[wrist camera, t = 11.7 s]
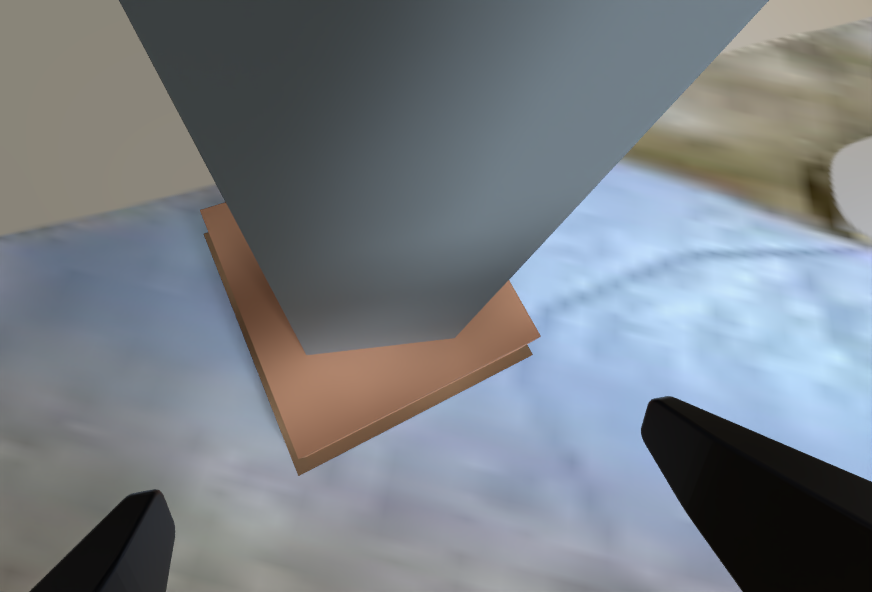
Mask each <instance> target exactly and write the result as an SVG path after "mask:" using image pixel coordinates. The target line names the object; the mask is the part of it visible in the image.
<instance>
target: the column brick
mask: <svg viewBox="0 0 872 592" xmlns="http://www.w3.org/2000/svg"><path fill="white" fill-rule="evenodd" d="M119 1H120V3H121V5H122V7H123V9H124V10H125V12H126V14H127V16H128V18H129V20H130V22H131V24H132V26H133V28H134V29H135V31H136V33H137V35H138V37H139V39H140V41H141V42H142V44H143V47H144V48H145V50H146V52H147V54H148V56H149V58H150V60H151V62H152V64H153V66H154V67H155V69H156V71H157V73H158V75H159V77H160V79H161V81H162V83H163V84H164V86H165V88H166V90H167V92H168V94H169V96H170V98H171V100H172V101H173V103H174V105H175V107H176V109H177V111H178V112H179V115H180V117H181V118H182V120H183V122H184V124H185V126H186V128H187V129H188V132H189V133H190V135H191V137H192V139H193V141H194V143H195V145H196V147H197V149H198V151H199V152H200V155H201V156H202V158H203V160H204V162H205V164H206V166H207V168H208V169H209V172H210V173H211V175H212V177H213V179H214V181H215V183H216V185H217V187H218V189H219V191H220V192H221V194H222V196H223V198H224V200H225V202H226V204H227V206H228V208H229V209H230V211H231V213H232V215H233V217H234V219H235V221H236V223H237V225H238V226H239V228H240V230H241V232H242V234H243V236H244V238H245V240H246V242H247V244H248V245H249V247H250V249H251V251H252V253H253V255H254V257H255V259H256V261H257V262H258V264H259V266H260V268H261V270H262V272H263V274H264V276H265V278H266V280H267V281H268V283H269V285H270V287H271V289H272V291H273V293H274V295H275V297H276V298H277V300H278V302H279V304H280V306H281V308H282V310H283V312H284V314H285V315H286V317H287V319H288V321H289V323H290V325H291V327H292V329H293V331H294V333H295V334H296V336H297V338H298V340H299V342H300V344H301V346H302V348H303V350H304V351H305V353H306V355H313V354H322V353H331V352H339V351H348V350H357V349H365V348H374V347H383V346H391V345H400V344H409V343H417V342H426V341H434V340H443V339H452V338H455V337H456V336H457V335H458V334H459V333H460V332H461V331H462V330H463V329H464V328H465V326H466V325H467V324H468V323H469V322H470V321H471V320H472V319H473V318H474V317H475V316H476V315H477V314H478V312H479V311H480V310H481V309H482V308H483V307H484V306H485V305H486V304H487V303H488V302H489V301H490V300H491V299H492V297H493V296H494V295H495V294H496V293H497V292H498V291H499V290H500V289H501V288H502V287H503V286H504V285H505V283H506V282H507V281H508V280H509V279H510V278H511V277H512V276H513V275H514V274H515V273H516V272H517V271H518V270H519V268H520V267H521V266H522V265H523V264H524V263H525V262H526V261H527V260H528V259H529V258H530V257H531V256H532V254H533V253H534V252H535V251H536V250H537V249H538V248H539V247H540V246H541V245H542V244H543V243H544V242H545V241H546V239H547V238H548V237H549V236H550V235H551V234H552V233H553V232H554V231H555V230H556V229H557V228H558V227H559V225H560V224H561V223H562V222H563V221H564V220H565V219H566V218H567V217H568V216H569V215H570V214H571V213H572V212H573V210H574V209H575V208H576V207H577V206H578V205H579V204H580V203H581V202H582V201H583V200H584V199H585V198H586V196H587V195H588V194H589V193H590V192H591V191H592V190H593V189H594V188H595V187H596V186H597V185H598V184H599V183H600V181H601V180H602V179H603V178H604V177H605V176H606V175H607V174H608V173H609V172H610V171H611V170H612V169H613V167H614V166H615V165H616V164H617V163H618V162H619V161H620V160H621V159H622V158H623V157H624V156H625V155H626V154H627V152H628V151H629V150H630V149H631V148H632V147H633V146H634V145H635V144H636V143H637V142H638V141H639V140H640V138H641V137H642V136H643V135H644V134H645V133H646V132H647V131H648V130H649V129H650V128H651V127H652V126H653V124H654V123H655V122H656V121H657V120H658V119H659V118H660V117H661V116H662V115H663V114H664V113H665V112H666V111H667V109H668V108H669V107H670V106H671V105H672V104H673V103H674V102H675V101H676V100H677V99H678V98H679V97H680V95H681V94H682V93H683V92H684V91H685V90H686V89H687V88H688V87H689V86H690V85H691V84H692V83H693V82H694V80H695V79H696V78H697V77H698V76H699V75H700V74H701V73H702V72H703V71H704V70H705V69H706V68H707V66H708V65H709V64H710V63H711V62H712V61H713V60H714V59H715V58H716V57H717V56H718V55H719V54H720V53H721V51H722V50H723V49H724V48H725V47H726V46H727V45H728V44H729V43H730V42H731V41H732V39H734V37H735V36H736V35H737V34H738V33H739V32H740V31H741V30H742V29H743V28H744V27H745V26H746V24H747V23H748V22H749V21H750V20H751V19H752V18H753V17H754V16H755V15H756V14H757V13H758V11H760V10H761V8H762V7H763V6H764V5H765V4H766V3H767V2H768V1H769V0H119Z"/></svg>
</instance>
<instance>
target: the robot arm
mask: <svg viewBox="0 0 872 592" xmlns="http://www.w3.org/2000/svg"><path fill="white" fill-rule="evenodd" d="M641 435H642V439H643V441H644V443H645V445H646V446H647V448H648V450H649V451H650V453H651V455H652V456H653V458H654V460H655V462H656V463H657V465H658V467H659V468H660V470H661V472H662V473H663V475H664V477H665V478H666V480H667V482H668V483H669V485H670V487H671V488H672V490H673V492H674V494H675V495H676V497H677V499H678V500H679V502H680V503H681V505H682V507H683V508H684V510H685V511H686V513H687V514H688V516H689V517H690V519H691V520H692V522H693V523H694V524H695V526H696V527H697V529H698V530H699V531H700V533H701V534H702V536H703V537H704V538H705V540H706V541H707V543H708V544H709V545H710V547H711V548H712V550H713V551H714V552H715V554H716V555H717V557H718V558H719V559H720V561H721V562H722V564H723V565H724V566H725V568H726V569H727V571H728V572H729V573H730V575H731V576H732V578H733V579H734V580H735V582H736V583H737V585H738V586H739V587H740V589H741V590H742V592H872V482H871V481H869V480H866V479H864V478H862V477H859V476H857V475H855V474H852V473H850V472H847V471H845V470H843V469H840V468H838V467H836V466H833V465H831V464H829V463H826V462H824V461H822V460H819V459H817V458H815V457H812V456H810V455H808V454H805V453H803V452H801V451H798V450H796V449H794V448H791V447H789V446H787V445H784V444H782V443H780V442H777V441H775V440H773V439H770V438H768V437H766V436H763V435H761V434H759V433H756V432H754V431H752V430H749V429H747V428H745V427H742V426H740V425H738V424H735V423H733V422H731V421H728V420H726V419H724V418H721V417H719V416H717V415H714V414H712V413H710V412H707V411H705V410H703V409H700V408H698V407H696V406H693V405H691V404H689V403H686V402H684V401H681V400H679V399H677V398H674V397H671V396H665V397H660V398H654V399H652V400H651V401H650V402H649V403H648V406H647V409H646V413H645V416H644V420H643V423H642V427H641ZM174 540H175V524H174V521H173V518H172V516H171V513H170V511H169V508H168V506H167V503H166V500H165V498H164V495H163V494H162V492H161V491H160V490H155V489H154V490H148V491H143V492H137V493H133V494H130V495H128V496H127V497H125V498H124V499H123V500H122V501H121V502H120V503H119V504H118V505H117V506H116V507H115V508H114V509H113V510H112V511H111V512H110V513H109V514H108V515H107V516H106V517H105V518H104V519H103V520H102V521H101V522H100V523H99V524H98V525H97V526H96V527H95V528H94V529H93V530H92V531H91V532H90V533H89V534H88V535H86V536H85V537H84V538H83V539H82V540H81V541H80V542H79V543H78V544H77V545H76V546H75V547H74V548H73V549H72V550H71V551H70V552H69V553H68V554H67V555H66V556H65V557H64V558H63V559H62V560H61V561H60V562H59V563H58V564H57V565H56V566H55V567H54V568H53V569H52V570H51V571H50V572H49V573H48V574H47V575H46V576H45V577H44V578H43V579H42V580H41V581H40V582H39V583H38V584H37V585H36V586H35V587H34V588H33V589H32V590H31V591H29V592H166V587H167V581H168V575H169V569H170V563H171V558H172V552H173V546H174Z"/></svg>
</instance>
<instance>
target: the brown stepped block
mask: <svg viewBox="0 0 872 592" xmlns="http://www.w3.org/2000/svg"><path fill="white" fill-rule="evenodd" d="M200 212H201V214H202V217H203V219H204V222H205V224H206V227H207V229H208V233H205V234H204V236H205V239H206V242H207V244H208V247H209V249H210V252H211V254H212V257H213V259H214V262H215V264H216V267H217V270H218V272H219V275H220V277H221V280H222V282H223V285H224V287H225V290H226V292H227V295H228V298H229V300H230V303H231V305H232V308H233V310H234V313H235V315H236V318H237V321H238V323H239V326H240V328H241V331H242V333H243V336H244V338H245V341H246V343H247V346H248V349H249V351H250V354H251V356H252V359H253V361H254V364H255V366H256V369H257V372H258V374H259V377H260V379H261V382H262V384H263V387H264V389H265V392H266V394H267V397H268V400H269V402H270V405H271V407H272V410H273V412H274V415H275V417H276V420H277V423H278V425H279V428H280V430H281V433H282V435H283V438H284V440H285V443H286V445H287V448H288V451H289V453H290V456H291V458H292V461H293V463H294V466H295V468H296V471H297V473H298V476H299V475H301V474H303V473H305V472H307V471H309V470H311V469H313V468H315V467H317V466H319V465H321V464H323V463H325V462H327V461H328V460H330V459H332V458H334V457H336V456H338V455H340V454H342V453H344V452H346V451H348V450H350V449H352V448H354V447H356V446H357V445H359V444H361V443H363V442H365V441H367V440H369V439H371V438H373V437H375V436H377V435H379V434H381V433H383V432H384V431H386V430H388V429H390V428H392V427H394V426H396V425H398V424H400V423H402V422H404V421H406V420H408V419H410V418H412V417H413V416H415V415H417V414H419V413H421V412H423V411H425V410H427V409H429V408H431V407H433V406H435V405H437V404H439V403H441V402H442V401H444V400H446V399H448V398H450V397H452V396H454V395H456V394H458V393H460V392H462V391H464V390H466V389H468V388H469V387H471V386H473V385H475V384H477V383H479V382H481V381H483V380H485V379H487V378H489V377H491V376H493V375H495V374H497V373H498V372H500V371H502V370H504V369H506V368H508V367H510V366H512V365H514V364H516V363H518V362H520V361H522V360H524V359H526V358H527V357H529V356H531V355H533V354H532V352H531V351H530V349H529V347H528V345H527V344H529V343H530V342H532V341H534V340H535V339H537V338H539V337H541V336H540V334H539V332H538V330H537V329H536V327H535V325H534V323H533V322H532V320H531V318H530V316H529V315H528V313H527V311H526V309H525V307H524V306H523V304H522V302H521V300H520V299H519V297H518V295H517V293H516V292H515V290H514V288H513V286H512V284H511V283H510V281H509V280H508V281H507V282H506V283H505V285H504V286H503V287H502V288H501V289H500V290H499V291H498V292H497V293H496V294H495V295H494V296H493V297H492V299H491V300H490V301H489V302H488V303H487V304H486V305H485V306H484V307H483V308H482V309H481V310H480V311H479V312H478V314H477V315H476V316H475V317H474V318H473V319H472V320H471V321H470V322H469V323H468V324H467V325H466V326H465V328H464V329H463V330H462V331H461V332H460V333H459V334H458V335H457V336H456V337H455V338H452V339H443V340H434V341H426V342H417V343H409V344H400V345H391V346H383V347H374V348H365V349H357V350H348V351H339V352H331V353H322V354H313V355H306V353H305V351H304V350H303V348H302V346H301V344H300V342H299V340H298V338H297V336H296V334H295V333H294V331H293V329H292V327H291V325H290V323H289V321H288V319H287V317H286V315H285V314H284V312H283V310H282V308H281V306H280V304H279V302H278V300H277V298H276V297H275V295H274V293H273V291H272V289H271V287H270V285H269V283H268V281H267V280H266V278H265V276H264V274H263V272H262V270H261V268H260V266H259V264H258V262H257V261H256V259H255V257H254V255H253V253H252V251H251V249H250V247H249V245H248V244H247V242H246V240H245V238H244V236H243V234H242V232H241V230H240V228H239V226H238V225H237V223H236V221H235V219H234V217H233V215H232V213H231V211H230V209H229V208H228V206H227V204H226V202H225V203H222V204H218V205H215V206H212V207H208V208H205V209H202V210H200Z"/></svg>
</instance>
